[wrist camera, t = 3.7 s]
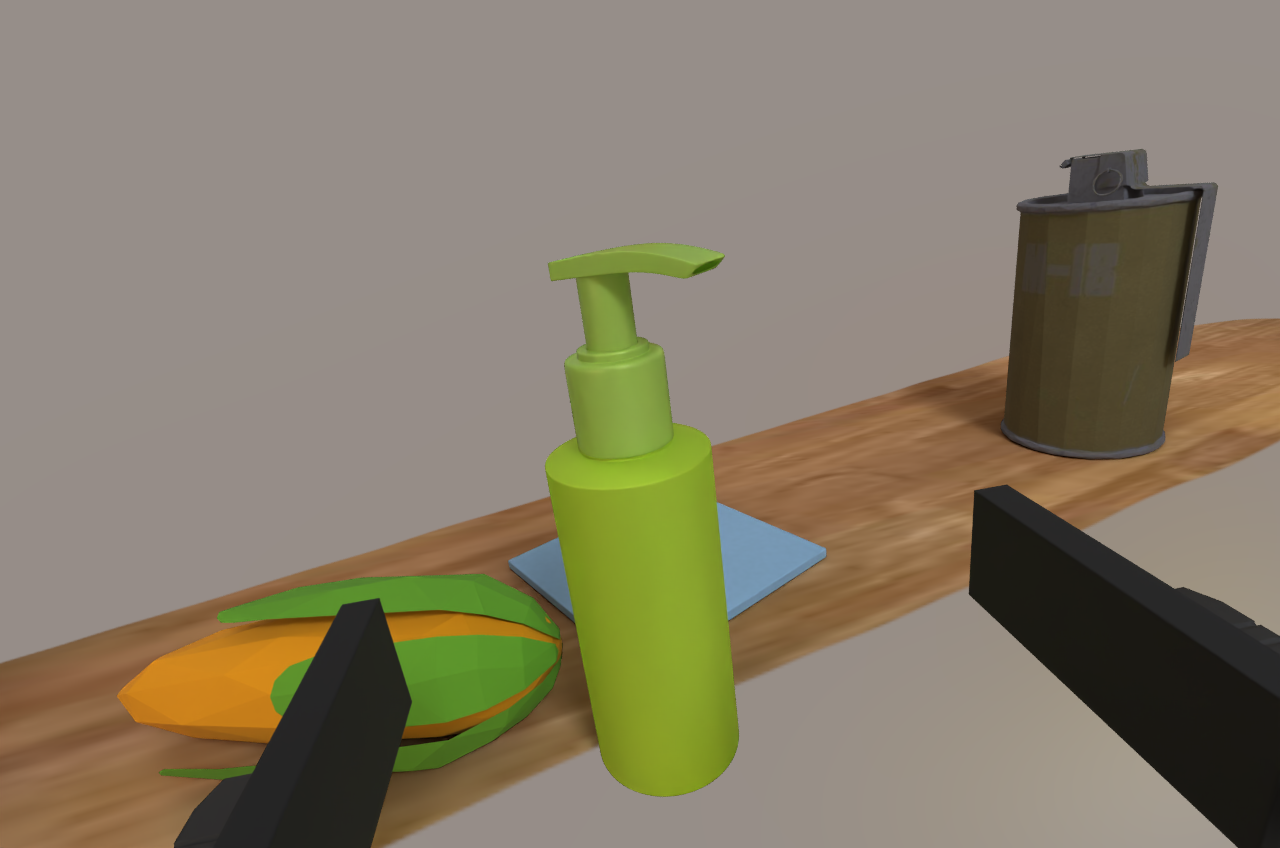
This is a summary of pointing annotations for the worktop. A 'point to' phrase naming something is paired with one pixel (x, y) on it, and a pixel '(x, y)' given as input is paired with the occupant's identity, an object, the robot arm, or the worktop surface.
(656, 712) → the soap dispenser
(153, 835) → the worktop surface
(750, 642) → the worktop surface
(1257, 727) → the robot arm
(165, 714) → the corn
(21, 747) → the worktop surface
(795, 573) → the blue mat
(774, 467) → the worktop surface
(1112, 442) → the canister
